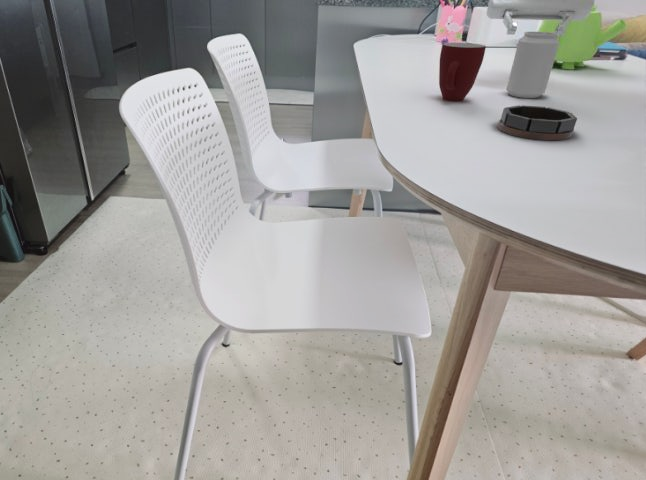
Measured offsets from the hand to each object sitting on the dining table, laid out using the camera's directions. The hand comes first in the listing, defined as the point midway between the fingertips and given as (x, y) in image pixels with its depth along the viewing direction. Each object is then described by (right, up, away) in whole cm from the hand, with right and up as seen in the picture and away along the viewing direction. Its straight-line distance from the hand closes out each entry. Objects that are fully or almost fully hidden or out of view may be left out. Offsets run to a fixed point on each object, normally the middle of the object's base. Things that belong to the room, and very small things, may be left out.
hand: (535, 33), depth 98 cm
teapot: (+31, +10, +37) cm, 49 cm away
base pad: (-13, -28, -22) cm, 38 cm away
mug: (-19, -16, -3) cm, 25 cm away
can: (-2, -13, +1) cm, 13 cm away
